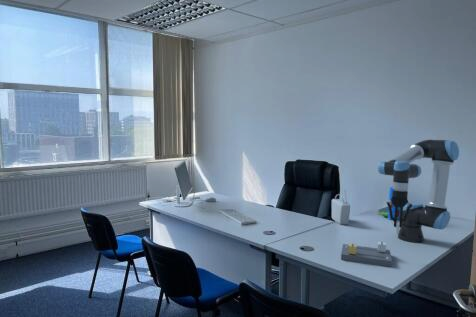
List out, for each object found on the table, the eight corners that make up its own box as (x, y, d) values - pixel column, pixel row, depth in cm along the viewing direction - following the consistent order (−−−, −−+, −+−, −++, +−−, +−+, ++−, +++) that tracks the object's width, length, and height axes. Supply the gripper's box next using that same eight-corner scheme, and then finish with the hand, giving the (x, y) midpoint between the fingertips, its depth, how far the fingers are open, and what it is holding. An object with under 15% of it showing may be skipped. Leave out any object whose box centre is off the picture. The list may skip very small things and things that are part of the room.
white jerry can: (351, 225, 254) (353, 191, 252) (340, 225, 254) (342, 191, 251) (340, 218, 276) (342, 186, 274) (330, 218, 275) (331, 186, 273)
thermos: (404, 221, 269) (406, 189, 266) (389, 220, 271) (391, 188, 269) (401, 218, 279) (402, 187, 277) (386, 217, 281) (388, 186, 279)
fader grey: (385, 249, 195) (385, 242, 194) (385, 252, 190) (386, 244, 190) (377, 248, 196) (377, 241, 196) (377, 251, 191) (378, 243, 191)
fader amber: (356, 251, 190) (356, 244, 190) (356, 254, 186) (356, 246, 185) (348, 250, 192) (348, 243, 191) (348, 253, 187) (348, 245, 187)
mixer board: (389, 255, 196) (389, 249, 195) (391, 266, 179) (392, 261, 179) (342, 249, 204) (343, 243, 204) (340, 259, 187) (341, 254, 187)
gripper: (412, 189, 189) (409, 232, 191) (386, 187, 193) (383, 229, 195) (414, 192, 182) (411, 236, 184) (387, 190, 186) (384, 233, 188)
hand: (397, 233), depth 190 cm, fingers closed
